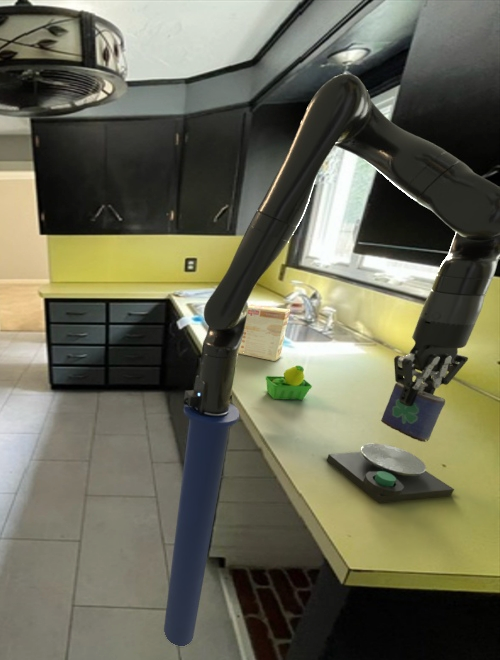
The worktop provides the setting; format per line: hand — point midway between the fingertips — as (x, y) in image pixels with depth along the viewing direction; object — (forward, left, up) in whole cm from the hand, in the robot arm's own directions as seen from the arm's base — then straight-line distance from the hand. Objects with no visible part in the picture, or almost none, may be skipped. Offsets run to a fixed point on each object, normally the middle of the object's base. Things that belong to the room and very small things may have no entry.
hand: (413, 403), depth 72 cm
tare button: (-8, -6, -14) cm, 17 cm away
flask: (0, 0, -6) cm, 6 cm away
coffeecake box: (+14, +75, -17) cm, 78 cm away
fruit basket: (+1, +37, -17) cm, 41 cm away
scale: (-2, -2, -16) cm, 17 cm away
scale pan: (0, 0, -13) cm, 13 cm away
